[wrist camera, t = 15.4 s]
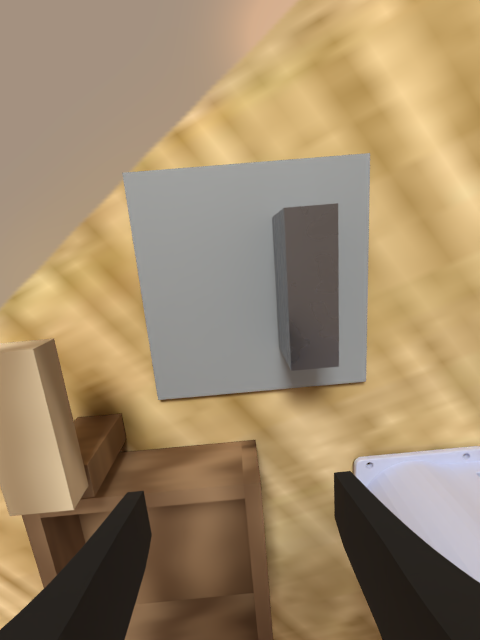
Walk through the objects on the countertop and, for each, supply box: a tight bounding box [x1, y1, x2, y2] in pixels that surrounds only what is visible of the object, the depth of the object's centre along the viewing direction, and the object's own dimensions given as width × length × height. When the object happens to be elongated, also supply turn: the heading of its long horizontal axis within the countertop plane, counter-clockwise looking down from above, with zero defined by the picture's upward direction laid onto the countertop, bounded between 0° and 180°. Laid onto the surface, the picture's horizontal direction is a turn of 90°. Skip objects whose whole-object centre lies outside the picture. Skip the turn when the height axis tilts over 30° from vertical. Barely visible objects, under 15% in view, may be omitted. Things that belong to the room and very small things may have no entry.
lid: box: [123, 153, 370, 400], centre depth 17 cm, size 14×14×5 cm
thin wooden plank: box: [0, 339, 89, 516], centre depth 14 cm, size 3×8×2 cm, turn 5°
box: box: [22, 414, 273, 640], centre depth 20 cm, size 14×17×5 cm
